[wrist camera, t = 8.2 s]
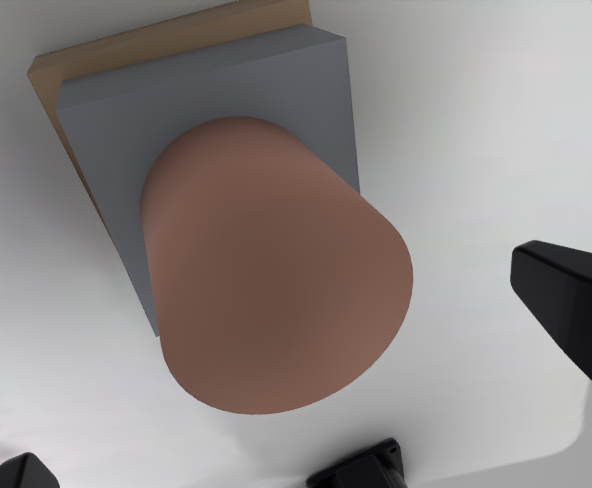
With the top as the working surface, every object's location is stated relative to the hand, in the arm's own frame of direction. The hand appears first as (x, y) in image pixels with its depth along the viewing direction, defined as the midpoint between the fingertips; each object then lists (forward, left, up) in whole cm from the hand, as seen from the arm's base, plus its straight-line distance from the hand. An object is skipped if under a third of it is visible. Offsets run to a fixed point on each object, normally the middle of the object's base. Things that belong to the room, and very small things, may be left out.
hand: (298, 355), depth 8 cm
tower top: (0, -1, -9) cm, 9 cm away
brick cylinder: (0, 0, -6) cm, 6 cm away
